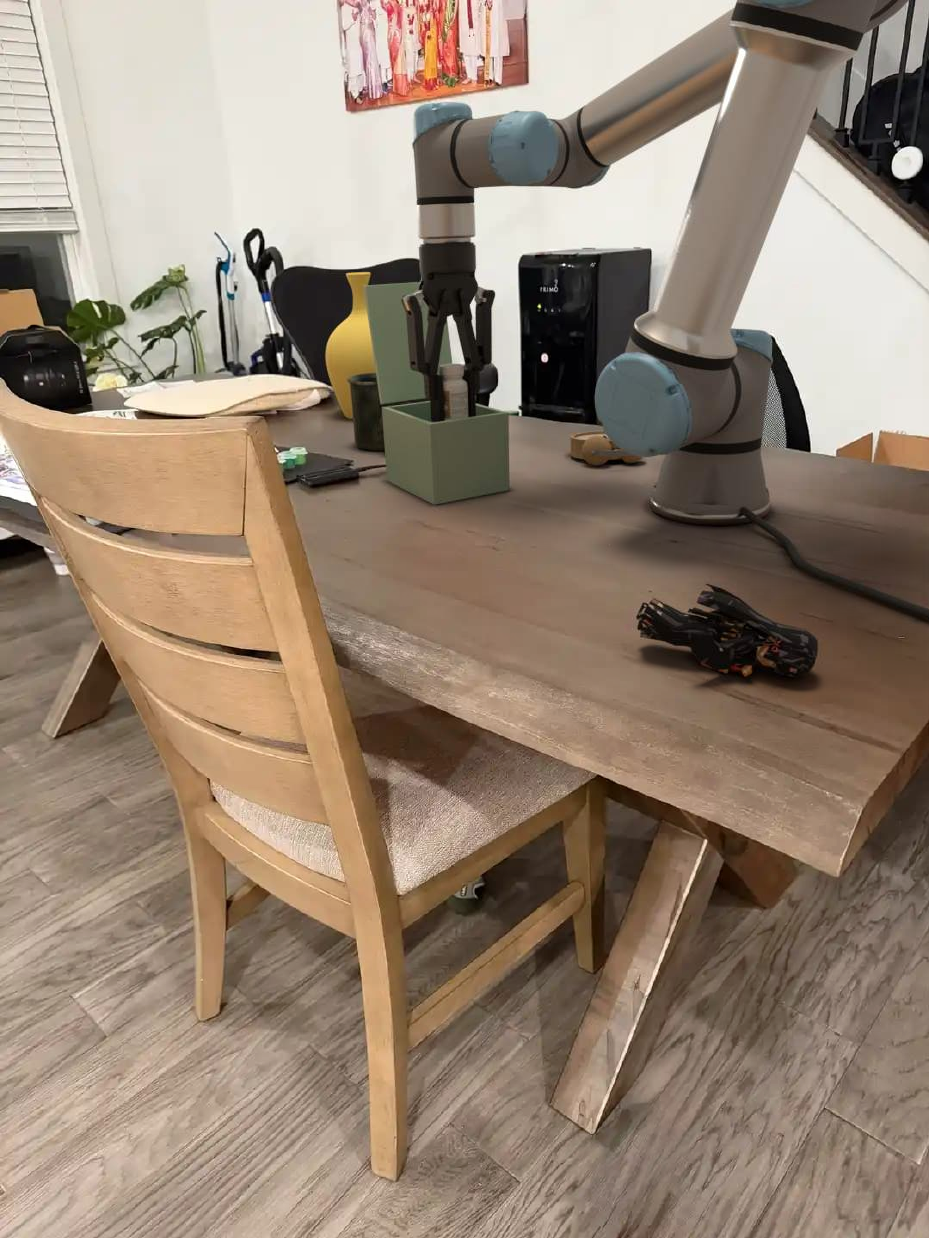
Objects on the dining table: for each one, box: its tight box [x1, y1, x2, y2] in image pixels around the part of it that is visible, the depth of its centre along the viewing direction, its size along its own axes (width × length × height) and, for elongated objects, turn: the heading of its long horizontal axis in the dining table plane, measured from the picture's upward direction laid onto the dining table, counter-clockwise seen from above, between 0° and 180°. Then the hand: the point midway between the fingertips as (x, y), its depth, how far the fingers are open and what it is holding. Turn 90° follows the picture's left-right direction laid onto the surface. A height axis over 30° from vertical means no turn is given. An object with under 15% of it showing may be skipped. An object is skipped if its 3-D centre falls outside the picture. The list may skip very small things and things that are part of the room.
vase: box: [325, 271, 376, 420], centre depth 173 cm, size 16×16×28 cm
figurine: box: [635, 583, 819, 678], centre depth 72 cm, size 9×8×15 cm
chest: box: [382, 400, 510, 506], centre depth 125 cm, size 16×13×11 cm
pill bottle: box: [439, 363, 468, 421], centre depth 119 cm, size 4×4×8 cm
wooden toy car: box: [569, 430, 643, 467], centre depth 138 cm, size 11×5×15 cm
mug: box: [347, 373, 409, 451], centre depth 149 cm, size 11×15×12 cm
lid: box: [364, 281, 453, 404], centre depth 126 cm, size 17×13×1 cm
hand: (453, 419), depth 121 cm, fingers closed on pill bottle, 4 cm apart
